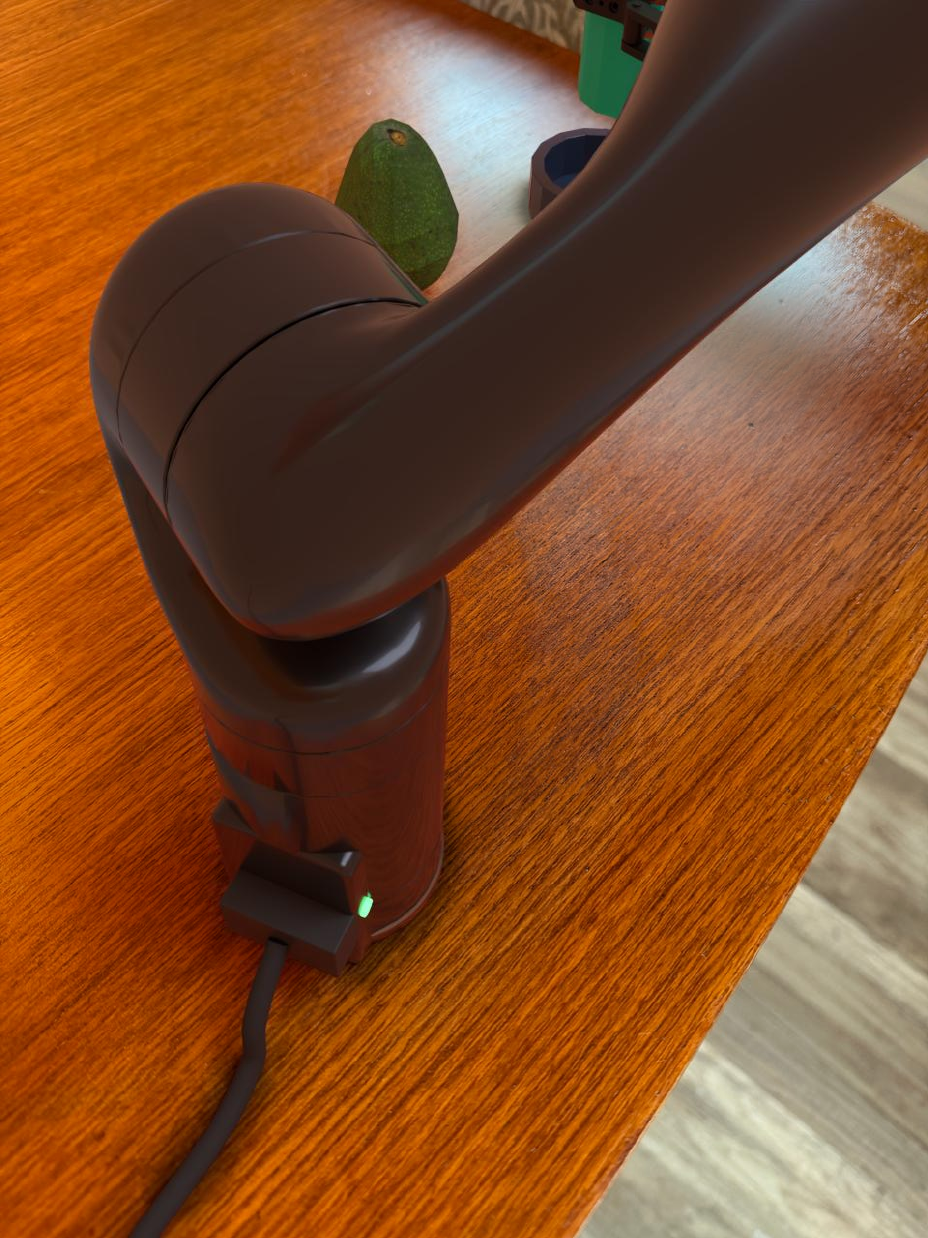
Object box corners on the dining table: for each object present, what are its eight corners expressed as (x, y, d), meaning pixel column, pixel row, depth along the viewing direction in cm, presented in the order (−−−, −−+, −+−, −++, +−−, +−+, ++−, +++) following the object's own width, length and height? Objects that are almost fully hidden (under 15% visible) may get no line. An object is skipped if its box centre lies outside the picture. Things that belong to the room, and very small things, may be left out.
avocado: (333, 326, 78) (322, 159, 68) (339, 250, 82) (329, 84, 73) (456, 329, 78) (462, 163, 68) (456, 253, 83) (461, 87, 73)
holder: (634, 265, 82) (642, 221, 80) (508, 228, 84) (511, 184, 82) (675, 191, 88) (684, 148, 85) (555, 158, 90) (559, 115, 87)
